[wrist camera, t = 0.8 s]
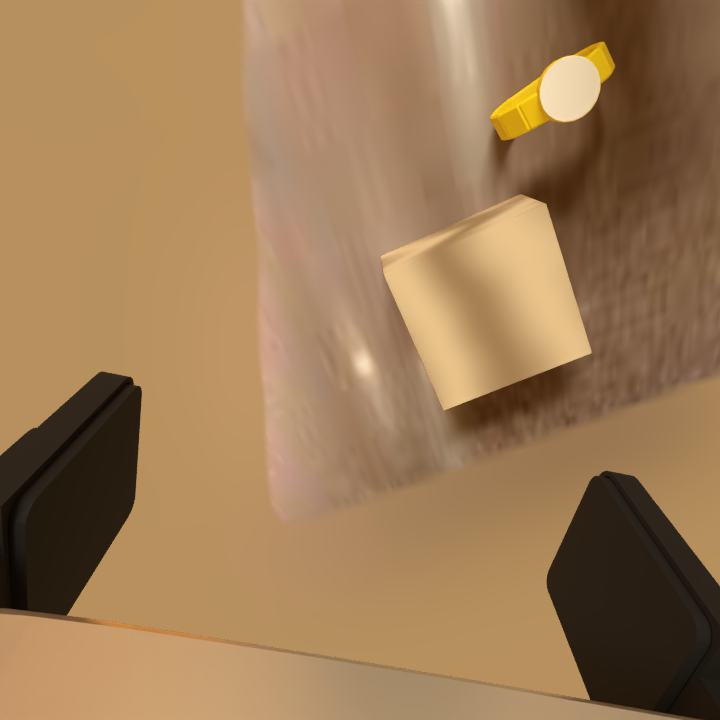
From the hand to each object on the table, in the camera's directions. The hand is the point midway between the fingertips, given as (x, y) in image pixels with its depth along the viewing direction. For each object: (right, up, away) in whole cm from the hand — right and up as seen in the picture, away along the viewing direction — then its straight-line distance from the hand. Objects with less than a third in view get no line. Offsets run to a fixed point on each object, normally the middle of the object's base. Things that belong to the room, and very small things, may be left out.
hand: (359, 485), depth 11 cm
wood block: (+7, +7, +23) cm, 25 cm away
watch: (+10, +17, +19) cm, 28 cm away
